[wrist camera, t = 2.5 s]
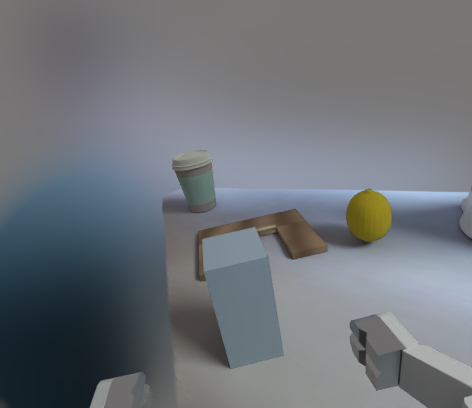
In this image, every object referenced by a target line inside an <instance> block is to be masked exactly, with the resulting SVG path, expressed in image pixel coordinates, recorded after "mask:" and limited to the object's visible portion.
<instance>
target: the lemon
mask: <svg viewBox="0 0 472 408" xmlns="http://www.w3.org/2000/svg"><path fill="white" fill-rule="evenodd" d="M346 220H347V225H348V227H349V229H350V231H351V233H352V234H353V235H354V236H355V237H357V238H359V239H361V240H364V241H366V242H371V241H375V240H378V239H380V238H382V237H383V236H385V235H386V233H387V232H388V230H389V229H390V226H391V221H392V211H391V207H390V204H389V202H388V200H387V199H386V198H385V197H384V196H383V195H382V194H380V193H378V192H376V191H372V190H371V189H366V190H365V191H362V192H360V193H358V194H356V195H355V196H354V197H353V198H352V199H351V200H350V202H349V204H348V208H347V214H346Z"/></svg>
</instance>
